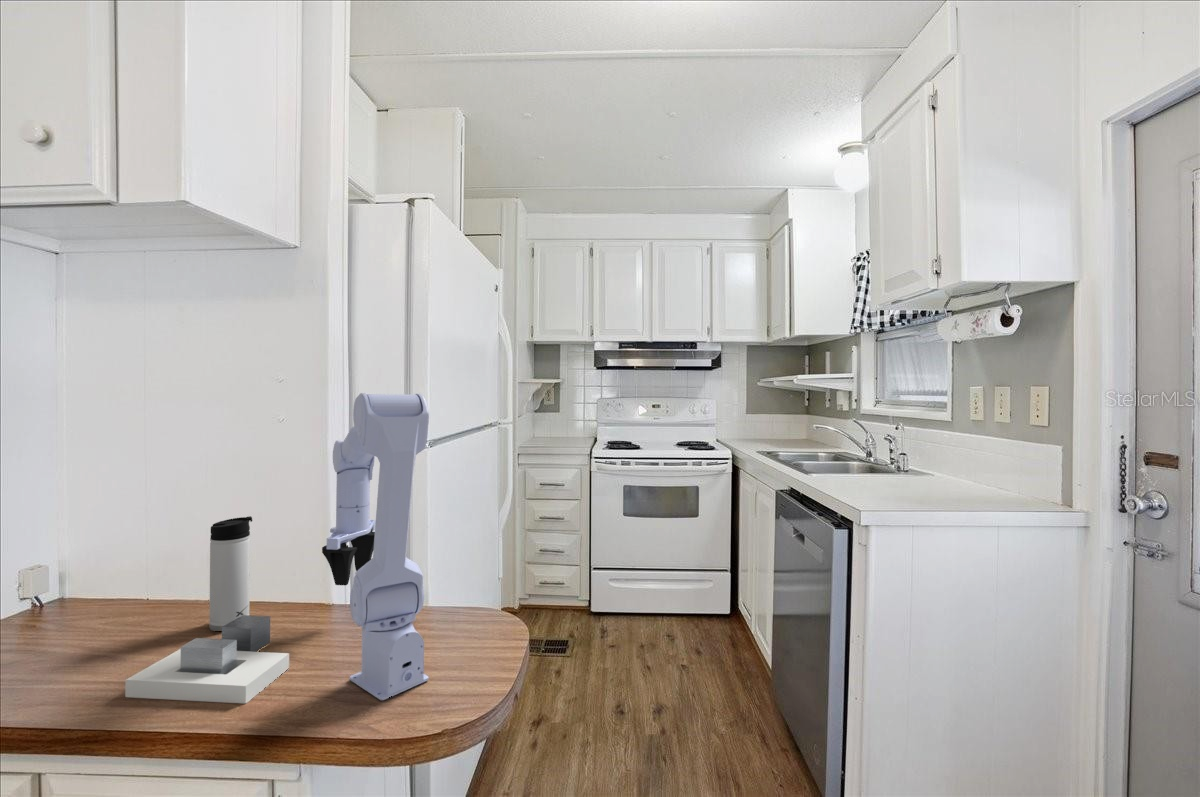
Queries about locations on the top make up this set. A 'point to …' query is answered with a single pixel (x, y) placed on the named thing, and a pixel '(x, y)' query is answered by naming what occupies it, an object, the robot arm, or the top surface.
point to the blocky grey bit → (209, 656)
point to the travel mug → (229, 571)
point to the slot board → (208, 679)
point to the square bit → (248, 632)
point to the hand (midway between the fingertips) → (352, 577)
